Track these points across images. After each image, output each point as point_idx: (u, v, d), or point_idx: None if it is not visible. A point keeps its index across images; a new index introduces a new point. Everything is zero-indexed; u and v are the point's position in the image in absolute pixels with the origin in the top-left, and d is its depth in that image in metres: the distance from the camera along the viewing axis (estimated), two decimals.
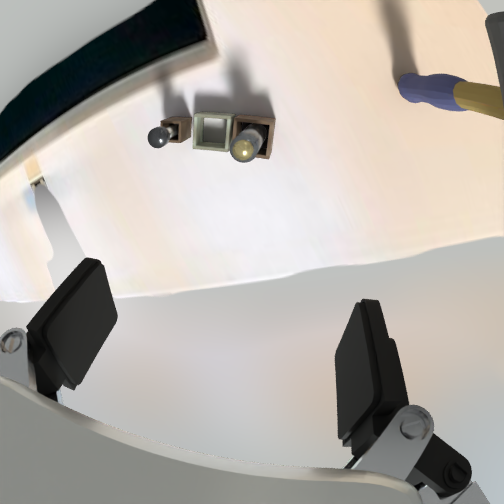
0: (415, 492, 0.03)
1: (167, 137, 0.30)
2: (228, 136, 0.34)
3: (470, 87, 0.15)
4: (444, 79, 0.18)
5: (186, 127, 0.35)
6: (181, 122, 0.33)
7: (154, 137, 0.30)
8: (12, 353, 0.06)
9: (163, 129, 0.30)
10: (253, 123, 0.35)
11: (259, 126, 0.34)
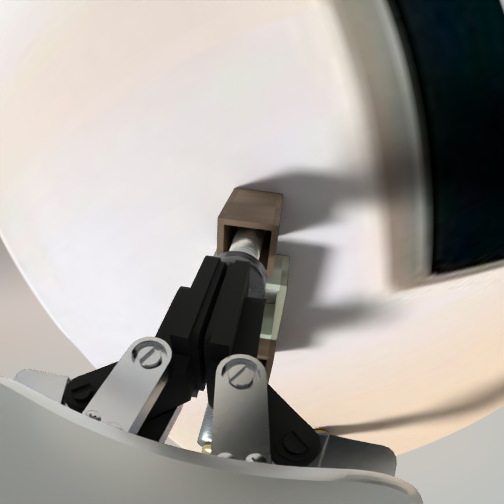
0: (415, 492, 0.03)
1: None
2: None
3: None
4: None
5: None
6: None
7: None
8: (141, 367, 0.06)
9: None
10: None
11: None
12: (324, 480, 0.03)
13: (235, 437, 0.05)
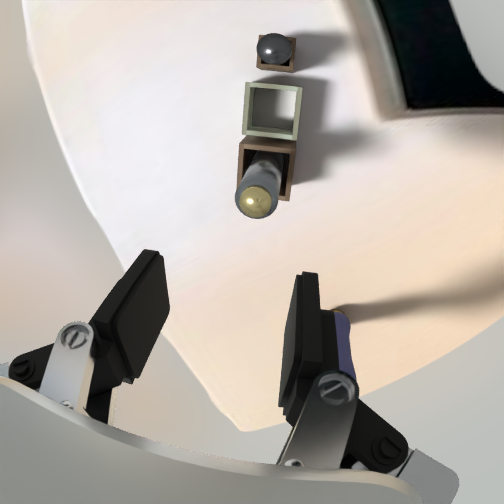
0: (415, 492, 0.03)
1: (273, 64, 0.17)
2: (265, 135, 0.23)
3: None
4: None
5: (279, 70, 0.21)
6: (290, 70, 0.19)
7: (274, 43, 0.16)
8: (71, 349, 0.06)
9: (287, 58, 0.17)
10: None
11: None
12: (324, 480, 0.03)
13: (311, 447, 0.05)
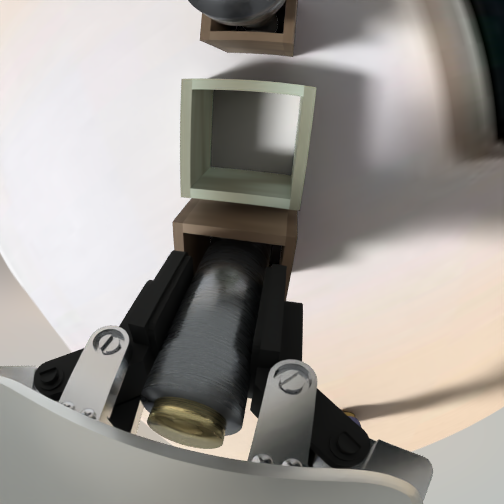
0: (415, 492, 0.03)
1: (234, 19, 0.05)
2: (231, 199, 0.11)
3: None
4: None
5: (261, 48, 0.09)
6: (287, 42, 0.07)
7: None
8: (103, 354, 0.07)
9: (276, 2, 0.05)
10: None
11: None
12: (324, 480, 0.03)
13: (276, 440, 0.05)
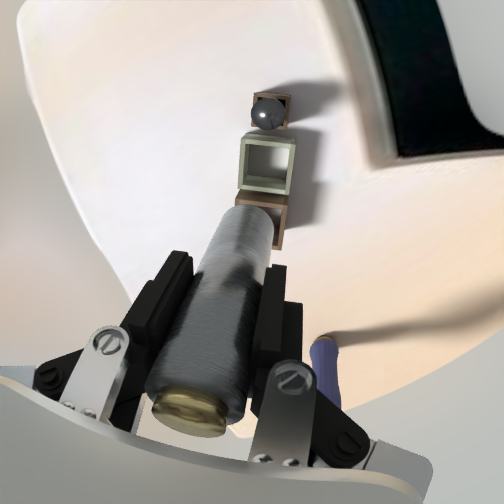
0: (415, 492, 0.03)
1: None
2: (260, 190, 0.26)
3: None
4: None
5: None
6: None
7: (268, 108, 0.19)
8: (103, 354, 0.07)
9: None
10: (272, 231, 0.15)
11: None
12: (324, 480, 0.03)
13: (276, 440, 0.05)
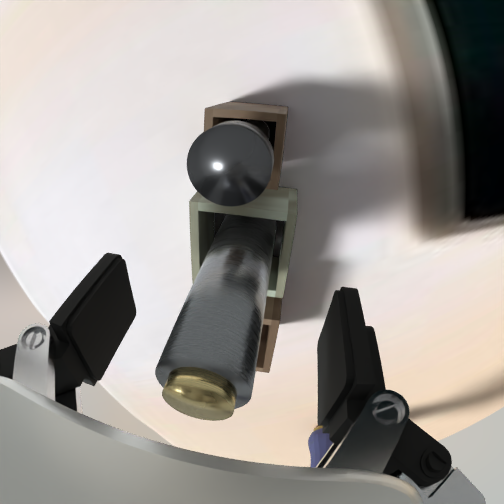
0: (415, 492, 0.03)
1: None
2: None
3: None
4: None
5: None
6: None
7: (229, 154, 0.08)
8: (32, 349, 0.06)
9: None
10: (275, 226, 0.15)
11: None
12: (324, 480, 0.03)
13: (353, 462, 0.05)
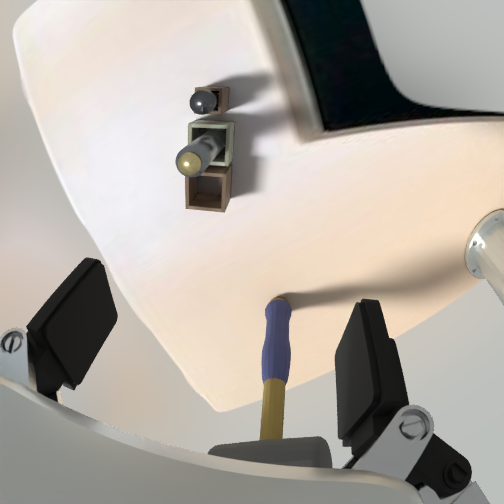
0: (415, 492, 0.03)
1: (202, 114, 0.25)
2: None
3: (279, 397, 0.30)
4: (284, 366, 0.34)
5: None
6: (219, 113, 0.27)
7: (202, 98, 0.24)
8: (12, 353, 0.06)
9: (212, 109, 0.25)
10: (225, 138, 0.32)
11: (222, 148, 0.31)
12: (324, 480, 0.03)
13: None
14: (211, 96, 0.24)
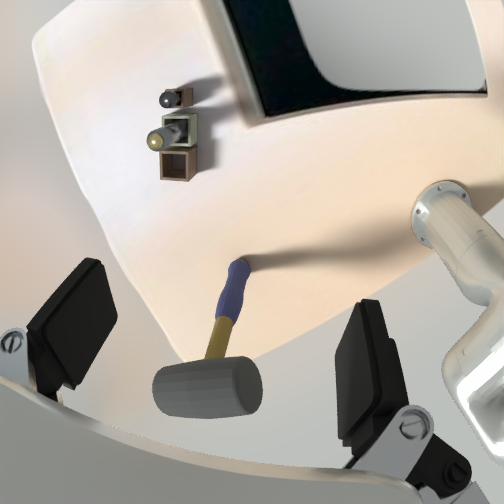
0: (415, 492, 0.03)
1: None
2: (174, 145, 0.40)
3: (224, 330, 0.39)
4: (233, 307, 0.42)
5: None
6: (182, 107, 0.36)
7: (167, 97, 0.33)
8: (12, 353, 0.06)
9: (174, 104, 0.34)
10: None
11: (186, 134, 0.40)
12: (324, 480, 0.03)
13: None
14: (173, 95, 0.33)
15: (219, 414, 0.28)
